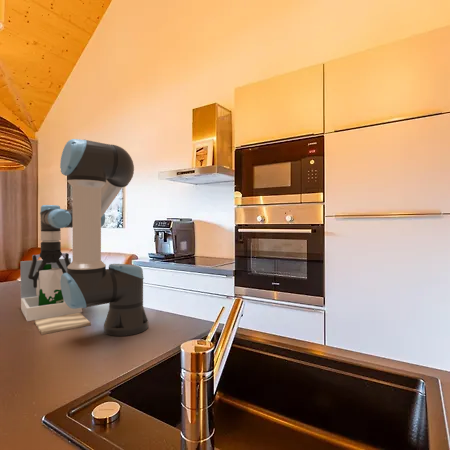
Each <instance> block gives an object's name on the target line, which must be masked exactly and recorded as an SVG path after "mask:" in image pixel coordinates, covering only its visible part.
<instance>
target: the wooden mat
mask: <svg viewBox="0 0 450 450" xmlns="http://www.w3.org/2000/svg"><path fill="white" fill-rule="evenodd" d="M34 324H35V326H36V328H37V330H38V331H39V333H40V335H47V334H52V333H58V332H62V331H67V330H73V329H80V328H85V327H88V326H91V325H92V323H91V321H90V320H88V319H87V318H86V317H85V316H84V315H83V314H82V313H81V312H80V313H74V314H68V315H62V316H56V317H50V318H44V319H38V320H34Z"/></svg>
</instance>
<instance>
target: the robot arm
mask: <svg viewBox="0 0 450 450" xmlns="http://www.w3.org/2000/svg"><path fill="white" fill-rule="evenodd" d="M62 149H63V150H62V153H61V157H60V165H59V168H60V172H61V174H62V175H64V176H65V177H66V181H67V183H68V184H69V185H70V186H71V187H72V209H65V208H61V207H60V205H58V204H56V205H55V204H44V205H41V206H40V212H39V215H40V241H41V242H40V253H38V254H32V255H31V259H32V260H31V261H32V264H31V268H30V272H29V275H28V278H29V279H32V280H33V287H34V288H36V295H37V296H39V279H38V277H39V271H41V270H43V268H44V266H45V265H46V263H57V265H58V267H59V268H60V269H62V272H63V274H62V275H61V280H60V284H61V291H62V295H63V298H64V301H65V303H66V304H67V306H68V307H70V308H72V309H78V308H82V309H86V308H90V307H95V306H100V305H106V304H108V312H107V314H106V318H105V321H104V324H103V332H104V333H105V334H106V335H108V336H114V337H126V336H131V335H132V336H133V335H137V334H141V333H143V332H145V331H147V329H148V328H149V319H148V317H147V314H146V311H145V308H144V279H145V278H144V272H143V268H142V267H141V266H140V265H135V264H126V263H110V264H109V265H108V267H106V266H107V265H106V263H104V261H102V227H103V226H104V225H105V221H106V215H105V213H106V212H107V211H108V209H109V207H110V206H111V205H112V203H113V201H114V200H115V198H116V197H117V196H118V195H119V193H120V192H121V190H122V189H123V188H125V187H127V186H128V185H129V184H130V183H131V180H133V177H134V171H135V166H134V161H133V159H132V156H131V155H130V154H129V153H128V152H127V151H126V149H124V148H123V147H121V146H119V145H117V144H109V143H103V142H99V141H93V140H87V139H80V138H79V139H78V138H72V139H69V140H68V141H67V142H66V143H65V145H64V147H63V148H62ZM67 228H69V229H70V228H72V260H71V263H70V262H69V259H68V258H70V255H69V253H68V252H64V253H63V252H62V249H61V248H62V246H61V237H62V236H61V235H62V234H61V229H67ZM61 257H62V259H64V260H65V263H66V267H67V272H66V271H65V269H64V268H63V266H62V264H61V262H60V261H59V259H61ZM39 258H40V260H43V261H42V262H41V265H40V266H39V268H38V272H36V273H35V275H34V276H33V273H34V269H35V266H36V262H37V260H39Z"/></svg>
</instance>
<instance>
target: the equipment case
mask: <svg viewBox="0 0 450 450" xmlns="http://www.w3.org/2000/svg"><path fill="white" fill-rule="evenodd" d="M68 259H69V262H70V263H71V262H72V258H71V257H69V258H68ZM32 261H33V260H24V261H23V260H22V261H19V263H20V310H21V312H22V314H23V316H24V319H25V320H26V322H30V321H31V322H32V321H35V320H39V319H45V318H51V317H57V316H63V315H69V314H75V313H80V314H81V313H82V312H83V308H78V309H72V308H70V307H68V306H67V304H66V303H65V301H64V298H63V303H57V304H50V305H43V306H38V305H39V296H37V295H36V288H34V287H33V280H32V279H29V278H28V275H29V272H30V268H31V264H32ZM42 261H43V260H42V259H38V260H37V262H36V266H35V269H34V273H33V276H34V275H35V273H36V272H37V270H38V268H39V266H40V265H41V262H42ZM59 261H60V262H61V264H62V266H63V268H64V269H65V271H66V272H67V267H66V263H65V260H64V258H59ZM46 264H51V268H59V267H58V265H57V263H46Z"/></svg>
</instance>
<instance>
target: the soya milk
mask: <svg viewBox="0 0 450 450" xmlns="http://www.w3.org/2000/svg"><path fill="white" fill-rule="evenodd" d="M37 272H38V270H37ZM62 274H63V272H62V269H60V268H51V264H46V265H45V266H44V268H43V270H41V271H39V277H38V279H39V305H38V306H43V305H50V304H57V303H63V295H62V291H61V284H60V280H61V275H62Z"/></svg>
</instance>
